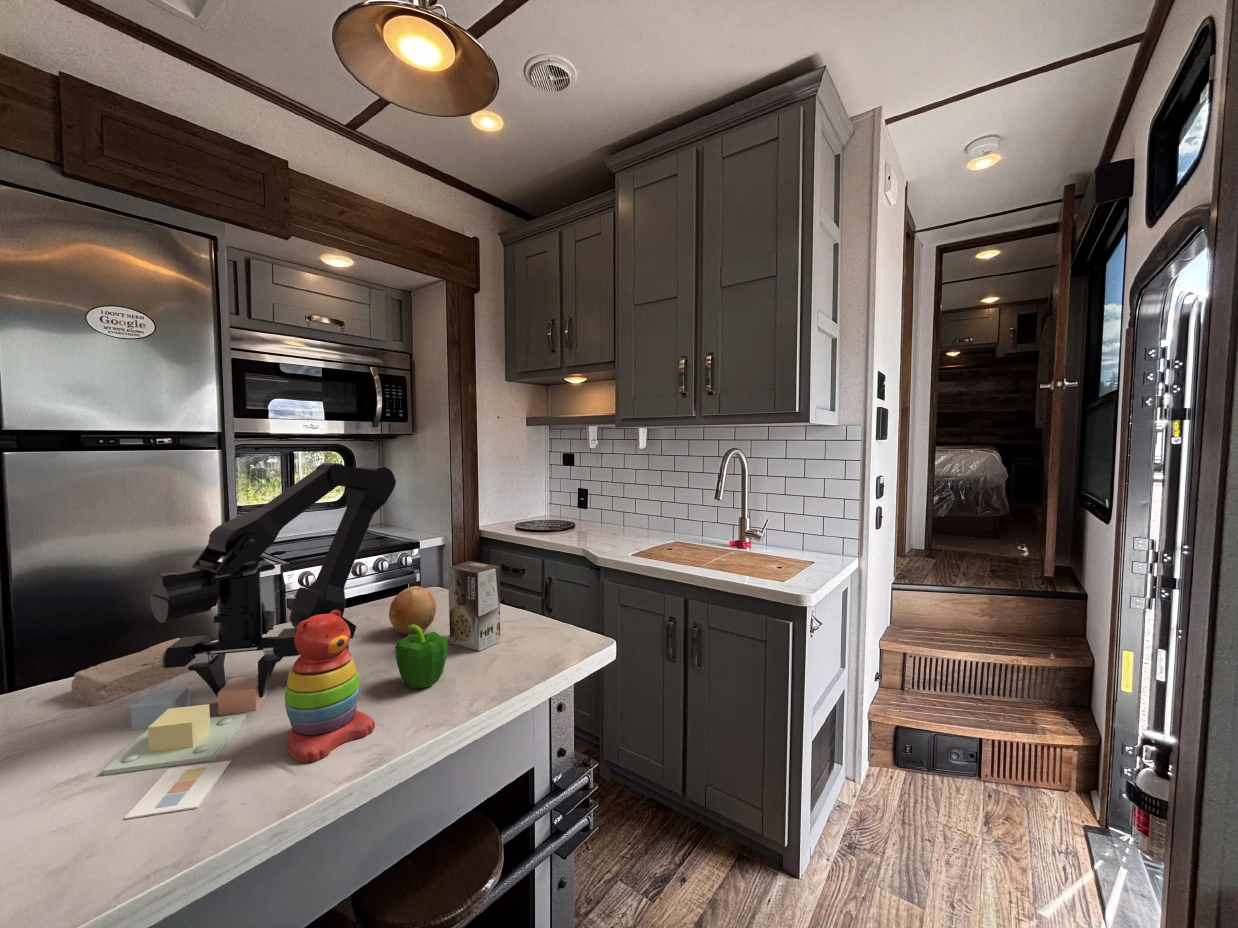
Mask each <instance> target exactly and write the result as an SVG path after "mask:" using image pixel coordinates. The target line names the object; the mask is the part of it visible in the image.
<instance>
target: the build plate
mask: <svg viewBox="0 0 1238 928" xmlns="http://www.w3.org/2000/svg"><path fill="white" fill-rule="evenodd" d="M210 712H211V711H210V703H209V704H199V705H191V706H190V705H189V707H180V708H171V709H168V710H167V711H165V712H164V713H163V714H162V715H161V716H160V717H159V718H158V719H157V720H156V721H155V722H153V723H152V724H151V725H150V726H149V727H147V729H146V730H145V731H144V732H142V734H140V736H138V737H137V738H136V739H135V740H134V741H133V742H132V743H131V744H129V746H128V747H127V748H126V749H124V750H123V751H122V752H121V753H120V754H119V755H118V756H117V757H116V758H115V759H114V760H112V761H111V762H110V763H109V764H108V765H107V766H106V767H104V769H102V776H106V775H113V774H115V775H116V774H122V773H129V772H130V773H131V772H137V771H143V770H153V769H158V768H166V767H167V768H168V767H173V766H174V767H175V766H181V765H187V764H194V763H203V762H210V761H214V760H215V758H216V757H217V755H218V754H219V753H220V752H221V751H222V749H223V748H224V747H225V745H227V743H228V741H229V740H230V739H231V738H232V736H233V735H234V734H235V732H236V731H237V730H238V729H239V727H240V726H241V725H242V724H243V722H244V721H245V720H246V718H247V713H240V714H232V715H231V714H230V715H221V716H216V717H215V716H213V717H211V715H210V714H211V713H210Z"/></svg>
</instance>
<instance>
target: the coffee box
mask: <svg viewBox="0 0 1238 928" xmlns="http://www.w3.org/2000/svg"><path fill="white" fill-rule="evenodd" d="M500 569H501V566H499V565H494V564H489V563H484V562H479V561H478V562H477V561H473V560H469V561H465V562H461V563H459V564H456V565H452V566H449V567H448V568H447V576H448V577H447V582H448V615H449V616H448V619H449V621H448V622H449V623H448V625H449V643H451V644H454V645H457V646H461V647H464V648H468V649H472V650H475V651H477V652H481V651H483V650H484V649H485V650H486V649H488V648H489V647H492V646H494V645H496V644H499V643H501V578H500V577H501V572H500Z"/></svg>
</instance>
